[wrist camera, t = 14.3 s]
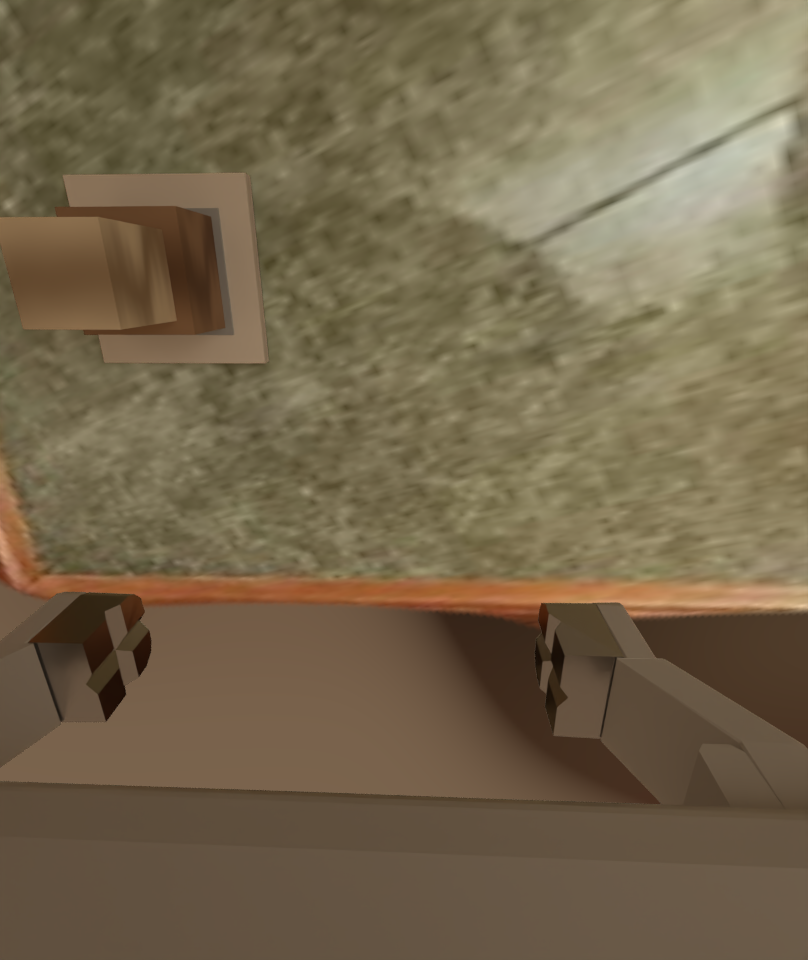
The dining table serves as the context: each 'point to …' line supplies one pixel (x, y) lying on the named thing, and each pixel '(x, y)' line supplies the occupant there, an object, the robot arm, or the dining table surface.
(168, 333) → the walnut block
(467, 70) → the dining table surface
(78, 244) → the maple block
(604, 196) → the dining table surface
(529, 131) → the dining table surface
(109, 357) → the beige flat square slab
